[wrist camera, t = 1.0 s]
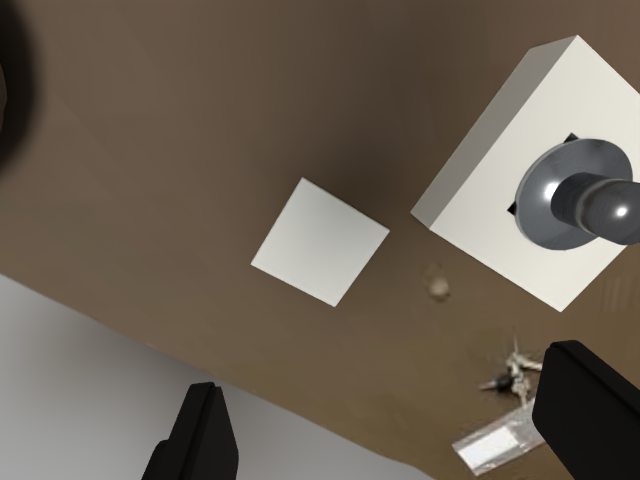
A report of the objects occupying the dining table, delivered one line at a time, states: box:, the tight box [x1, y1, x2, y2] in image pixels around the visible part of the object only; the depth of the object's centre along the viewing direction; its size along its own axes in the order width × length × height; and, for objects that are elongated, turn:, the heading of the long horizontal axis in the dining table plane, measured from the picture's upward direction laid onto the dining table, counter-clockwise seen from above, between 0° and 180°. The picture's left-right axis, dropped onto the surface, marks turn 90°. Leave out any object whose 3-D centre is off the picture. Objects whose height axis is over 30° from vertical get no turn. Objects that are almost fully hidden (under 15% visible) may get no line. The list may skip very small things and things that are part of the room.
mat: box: [251, 177, 390, 307], centre depth 38 cm, size 12×12×1 cm
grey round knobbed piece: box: [506, 138, 640, 251], centre depth 31 cm, size 11×11×12 cm
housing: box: [410, 35, 640, 312], centre depth 35 cm, size 20×20×6 cm
